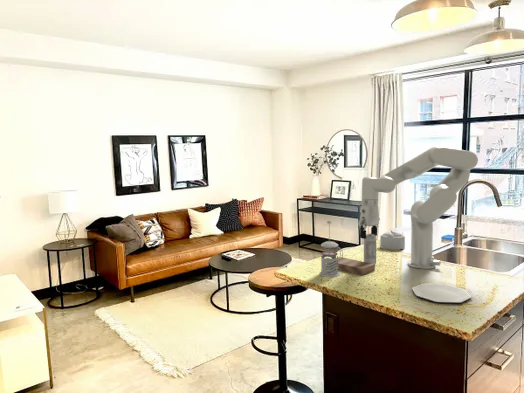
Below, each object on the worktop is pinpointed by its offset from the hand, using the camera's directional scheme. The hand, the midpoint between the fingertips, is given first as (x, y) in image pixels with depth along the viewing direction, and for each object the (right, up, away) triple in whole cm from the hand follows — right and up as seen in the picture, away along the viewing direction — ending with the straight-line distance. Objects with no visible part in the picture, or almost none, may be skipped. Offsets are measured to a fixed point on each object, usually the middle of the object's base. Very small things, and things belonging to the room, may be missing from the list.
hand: (368, 236), depth 190 cm
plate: (+16, -19, -41) cm, 48 cm away
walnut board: (-10, -15, -4) cm, 18 cm away
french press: (-20, -16, -11) cm, 28 cm away
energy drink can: (+1, -14, +1) cm, 14 cm away
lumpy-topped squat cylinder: (+23, -10, +33) cm, 42 cm away
